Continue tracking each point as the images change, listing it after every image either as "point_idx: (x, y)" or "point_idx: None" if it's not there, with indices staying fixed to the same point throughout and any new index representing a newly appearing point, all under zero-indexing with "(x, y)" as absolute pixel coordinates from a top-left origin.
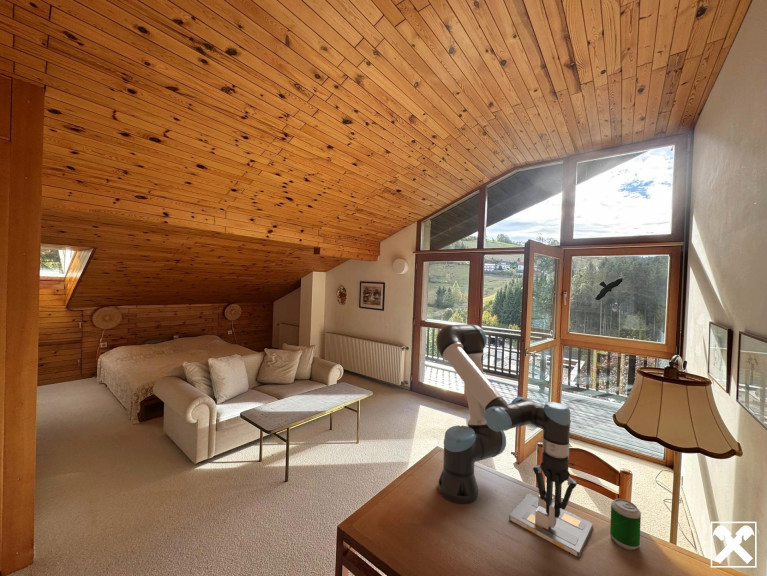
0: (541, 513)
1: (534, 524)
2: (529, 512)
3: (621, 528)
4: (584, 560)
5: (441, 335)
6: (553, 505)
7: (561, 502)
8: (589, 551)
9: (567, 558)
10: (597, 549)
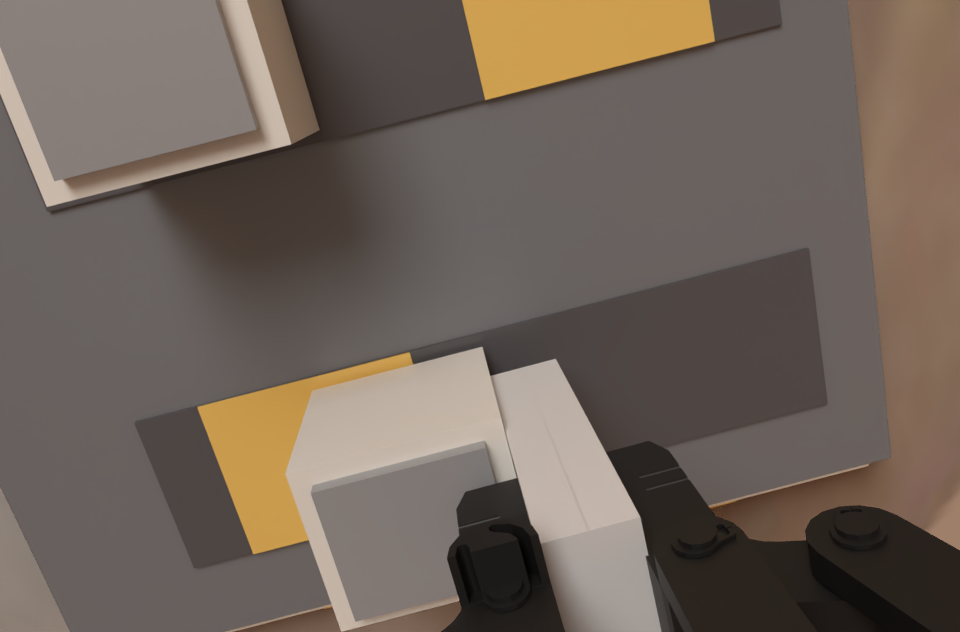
0: (428, 595)
1: None
2: (164, 395)
3: None
4: (904, 412)
5: None
6: (620, 622)
7: (808, 613)
8: (898, 239)
9: (787, 537)
10: (949, 117)
